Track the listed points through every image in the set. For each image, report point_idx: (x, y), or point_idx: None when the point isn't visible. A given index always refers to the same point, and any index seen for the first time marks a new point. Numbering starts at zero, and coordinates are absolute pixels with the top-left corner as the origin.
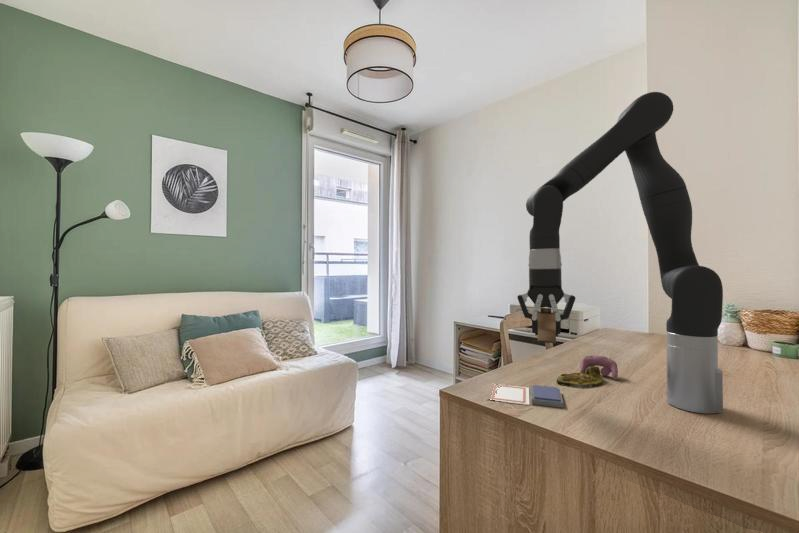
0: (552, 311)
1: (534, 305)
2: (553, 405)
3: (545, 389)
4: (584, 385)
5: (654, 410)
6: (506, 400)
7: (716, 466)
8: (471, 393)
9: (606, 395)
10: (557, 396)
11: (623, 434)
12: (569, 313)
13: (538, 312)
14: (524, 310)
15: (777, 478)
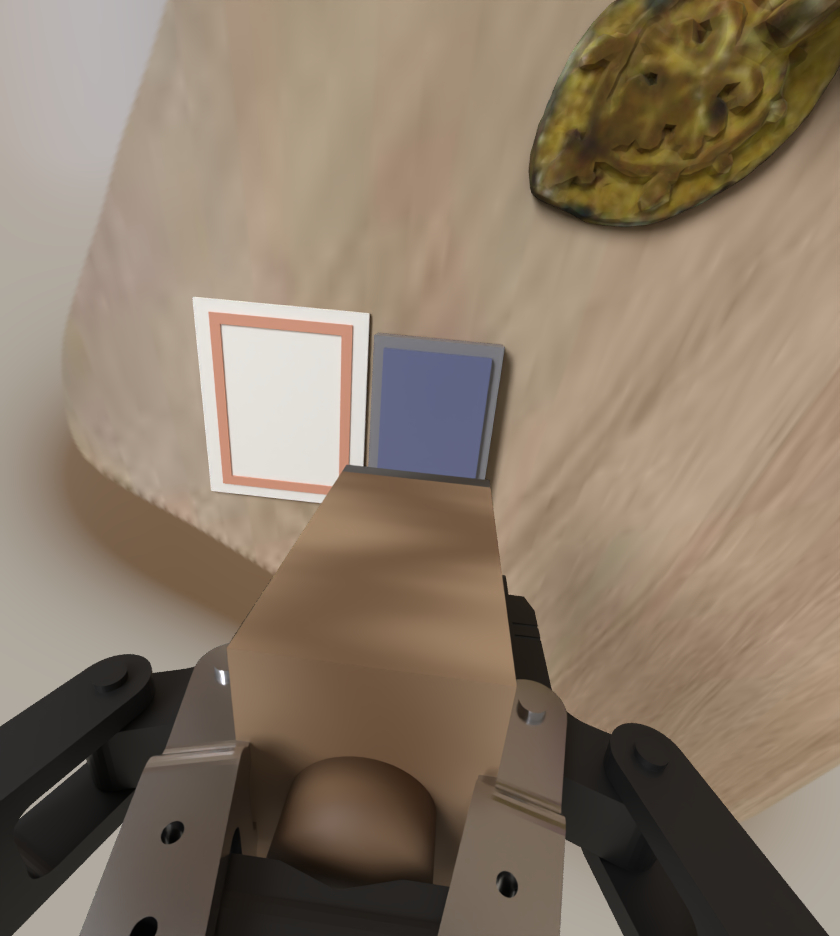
0: (491, 710)
1: (128, 856)
2: None
3: (432, 400)
4: (665, 218)
5: (828, 458)
6: (280, 488)
7: (729, 737)
8: (143, 435)
9: (720, 322)
10: (467, 474)
11: (598, 643)
12: (675, 908)
13: (256, 851)
14: (53, 846)
15: (822, 757)
